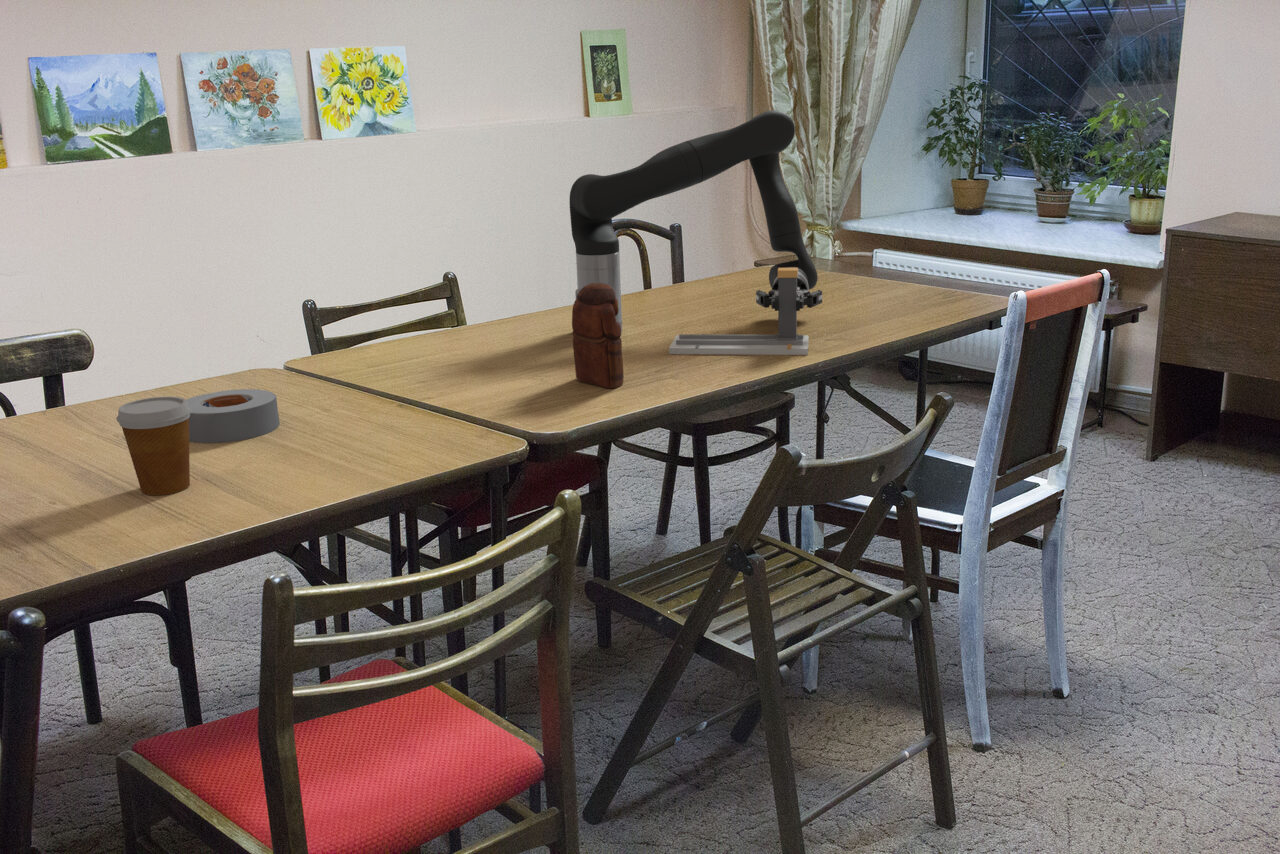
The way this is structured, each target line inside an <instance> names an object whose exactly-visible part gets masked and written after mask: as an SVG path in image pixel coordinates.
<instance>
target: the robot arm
mask: <svg viewBox="0 0 1280 854" xmlns="http://www.w3.org/2000/svg"><path fill="white" fill-rule="evenodd" d="M795 126H796V125H795V122H794V120H793V118H791V116H789V115H788V114H787V113H785V112H783V111H780V110H773V109H772V110H766V111H763V112H761V113H759V114H758V115H755V116H754V117H752V118H751V119H749V120H748V121H746V122H743V123H742V124H739V125H736V126H734V127H732V128H729V129H726V130H725V129H724V130H721V131H717V132H713V133H710V134H706V135H702V136H699V137H696V138H693V139H688V140H686V141H682V142H680V143H677V144H674V145H672V146H669V147H667V148H665V149H662V150H661V151H659V152H657V153H656V154H654V155H653V156H652V157H650V158H649V159H647V160H646V161H645V162H643V163H642V164H640V165H637V166H636V167H634V168H630V169H627V170H624V171H621V172H616V173H613V174H608V175H599V174H594V173H593V174H592V173H588V174H584V175H581V176H579V177H577V179H576V180H575V181H574V182H573V184H572V186H571V187H570V191H569V215H570V216H569V217H570V226H571V237H572V239H573V243H574V245H575V260H576V263H575V264H576V281H577V282H576V284H577V288H576V289H575V292H574V293H575V300H576V299H577V295H578V293H579V291H580V290H581V289H582V288H583V287H584V286H586V285H588V284H591V283H604V284H607V285H609V286H611V287H612V288H613V289H614V291H615V295H616V298H617V300H618V309H619V311H618V314H617V316H615V317H616V321H617V322H619V323H620V325H621V333H622V332H623V318H622V316H623V315H622V313H623V312H622V310H623V309H622V289H621V287H622V286H621V263H620V262H621V261H620V260H621V259H620V240H619V237H618V236H617V234H616V232H615V229H614V227H613V219H614V218H615V217H617V216H618V215H621V214H623V213H625V212H627V211H628V210H630V209H632V208H634V207H636V206H638V205H640V204H642V203H646V202H647V201H649V200H654V199H656V198H660V197H663V196H666V195H670V194H672V193H675V192H676V193H677V192H679V191H681V190H685V189H687V188H690V187H693V186H696V185H698V184H701V183H703V182H706V181H707V180H710V179H711V178H713V177H716V176H717V175H719V174H722V173H723V172H725V171H728V170H729V169H731V168H733V167H735V166H736V165H739V164H740V163H742V162H745V161H747V160H749V162H750V165H751V169H752V172H753V175H754V177H755V182H756V184H757V187H758V190H759V195H760V198H761V201H762V206H763V210H764V211H763V212H764V215H765V219H766V220H765V221H766V226H767V231H768V236H769V242H770V246H771V249H772V250H773V251H774V252H778V253H782V252H783V253H793V254H794V255H795V256H796V257H797V259H795V260H794V259H793V260H790V261H785V262H780V263H776V264H774V265H773V266H772V267H771V268H770V269H769V273H768V281H769V282H768V283H769V285H770V288H771V290H769V291H768V292H767V293H766V291H763V290H760V289H758V290H756V291H755V294H756V295H755V301H756V302H755V303H756V304H757V305H759V306H761V307H762V308H765V309H767V308H770V307H771V309H772V310H773V309H774V312H778V310H779V299H778V284H779V278H778V268H798V277H797V299H796V311H797V312H799V311H800V310H802V309H804V308H805V306H806V308H808V309H811V308H814V307H817V306H818V305H821V304H823V290H821V289H818V290H815V291H813V289H814V288H815V287H816V285H817V283H818V279H819V278H818V277H819V276H818V272H817V269H816V266H815V265H814V263H813V261H812V258H811V257H810V255H809V253H808V250H807V248H806V245H805V243H804V240H803V239H804V238H803V234H802V230H801V224H800V223H801V222H800V219H799V214H798V211H797V207H796V204H795V201H794V199H793V197H792V196H791V195H792V194H791V193H790V192H789V188H787V186H786V183H785V181H784V178H783V174H782V171H781V167H780V166H781V165H780V153H782V152H783V151H784V150H786V149H787V148H788V147H789V146H790V145H791V143H792V142H793V139H794V137H795V135H796V133H795V132H796V127H795ZM810 290H812V292H811V291H810Z"/></svg>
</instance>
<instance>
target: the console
mask: <svg viewBox="0 0 1280 854" xmlns="http://www.w3.org/2000/svg"><path fill="white" fill-rule="evenodd" d="M777 336H778V334H705V333H701V334H691V333H690V334H681V333H680V334H676V336H675V337H674V339H673V341H672V342H671V344H670V345H669V347H668V354H669V355H745V356H746V355H754V356H755V355H758V356H759V355H765V356H766V355H768V356H769V355H772V356H773V355H774V356H776V355H779V356H780V355H781V356H785V355H786V356H793V355H794V356H797V355H798V356H799V355H800V356H807V355H808V353H809V341H810V340H809V339H810V337H809V336H810V335H805V334H798V340H777ZM808 356H809V355H808Z"/></svg>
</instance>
